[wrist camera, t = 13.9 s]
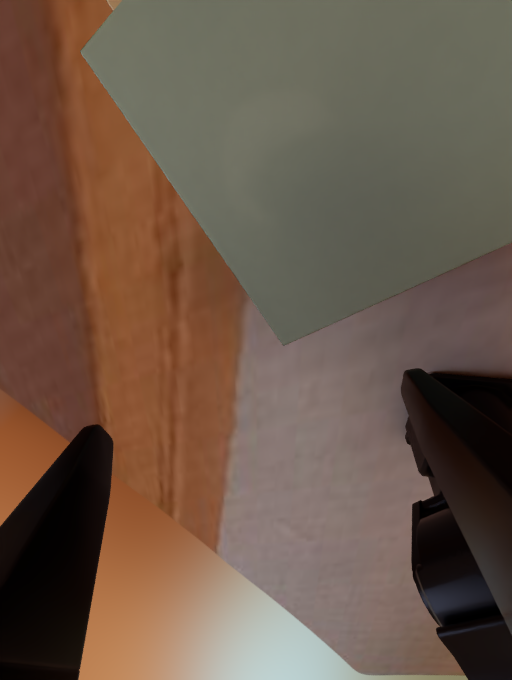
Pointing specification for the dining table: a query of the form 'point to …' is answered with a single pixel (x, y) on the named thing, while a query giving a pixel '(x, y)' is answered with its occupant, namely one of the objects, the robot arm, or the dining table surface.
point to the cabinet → (324, 138)
